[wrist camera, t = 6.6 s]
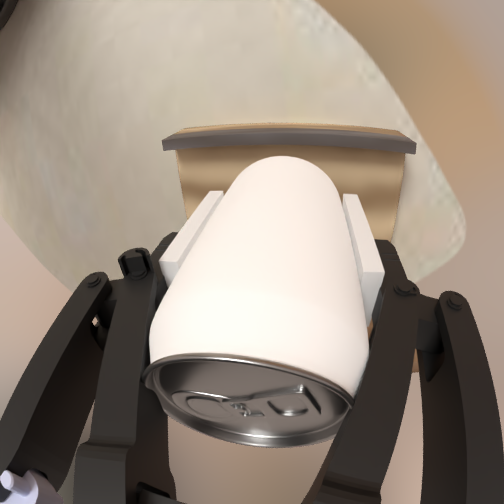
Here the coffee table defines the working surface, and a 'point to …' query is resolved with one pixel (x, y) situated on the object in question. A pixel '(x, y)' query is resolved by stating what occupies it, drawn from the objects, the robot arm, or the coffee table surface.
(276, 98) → the coffee table surface
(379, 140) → the brown piece
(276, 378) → the can
